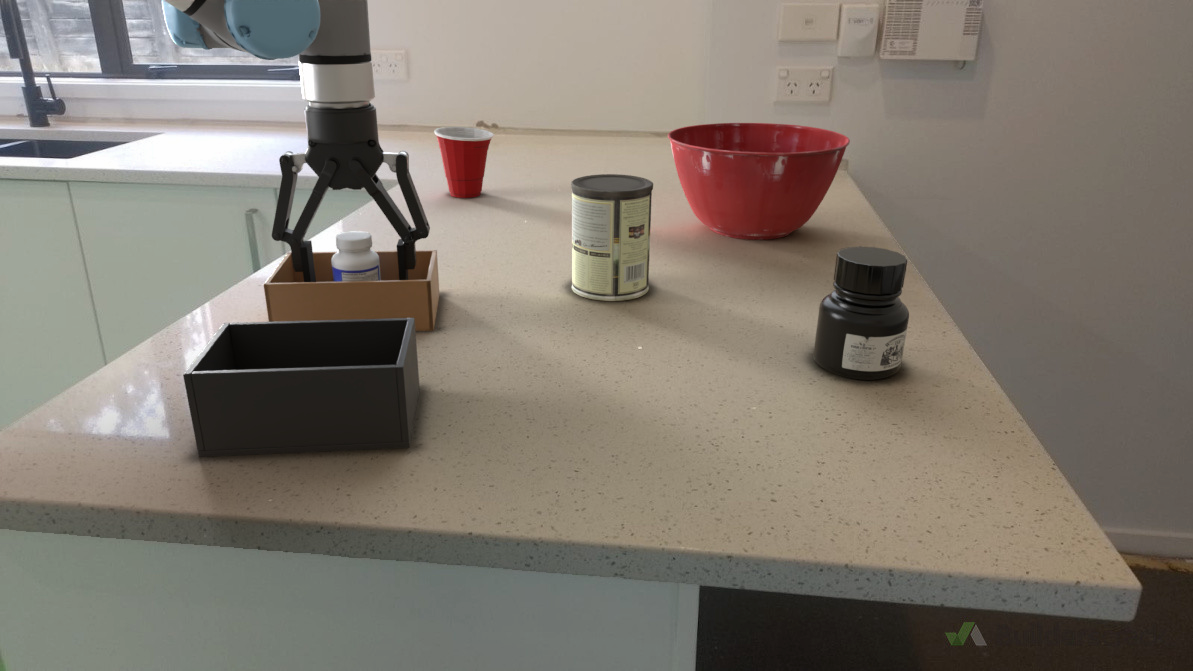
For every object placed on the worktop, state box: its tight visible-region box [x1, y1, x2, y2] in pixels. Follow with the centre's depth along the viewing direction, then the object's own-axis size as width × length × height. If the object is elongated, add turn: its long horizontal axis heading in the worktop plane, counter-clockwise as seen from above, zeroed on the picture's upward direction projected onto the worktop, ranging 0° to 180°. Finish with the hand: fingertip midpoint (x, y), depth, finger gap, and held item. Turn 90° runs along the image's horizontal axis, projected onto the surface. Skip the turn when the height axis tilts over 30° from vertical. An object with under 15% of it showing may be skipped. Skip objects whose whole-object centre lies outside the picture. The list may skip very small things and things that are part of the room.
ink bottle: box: [813, 245, 910, 381], centre depth 87 cm, size 10×9×12 cm
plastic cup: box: [433, 126, 495, 199], centre depth 156 cm, size 11×11×12 cm
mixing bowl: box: [667, 122, 851, 241], centre depth 136 cm, size 28×28×15 cm
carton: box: [263, 249, 440, 332], centre depth 99 cm, size 18×12×6 cm, turn 97°
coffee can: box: [570, 173, 654, 302], centre depth 108 cm, size 10×10×14 cm
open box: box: [182, 318, 421, 458], centre depth 74 cm, size 17×11×8 cm, turn 97°
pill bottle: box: [332, 230, 381, 282], centre depth 98 cm, size 5×5×10 cm
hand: (358, 295), depth 99 cm, fingers open, 10 cm apart
